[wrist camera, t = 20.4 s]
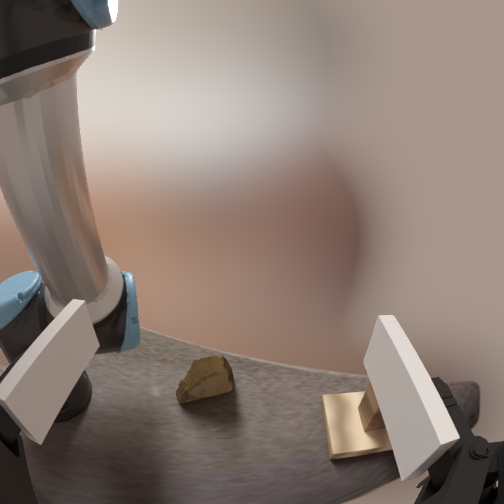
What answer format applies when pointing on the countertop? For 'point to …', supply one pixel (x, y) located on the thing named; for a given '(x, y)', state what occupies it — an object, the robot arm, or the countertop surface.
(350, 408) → the cutting board
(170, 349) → the countertop surface
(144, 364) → the countertop surface
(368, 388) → the walnut block
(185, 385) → the rock
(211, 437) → the countertop surface
